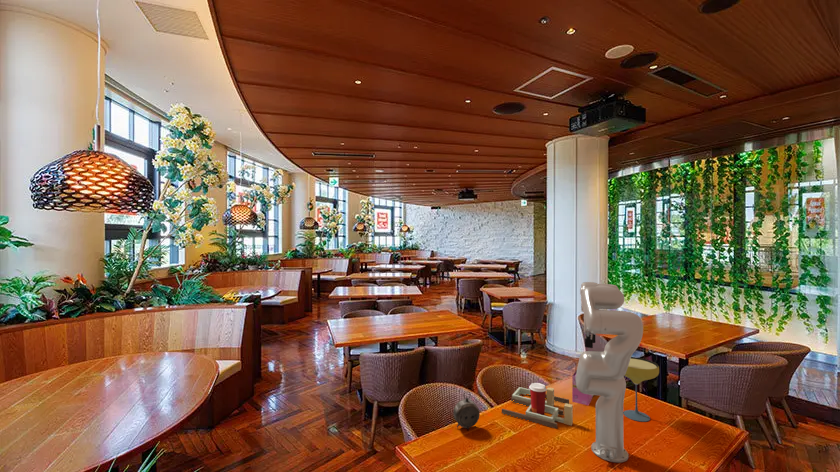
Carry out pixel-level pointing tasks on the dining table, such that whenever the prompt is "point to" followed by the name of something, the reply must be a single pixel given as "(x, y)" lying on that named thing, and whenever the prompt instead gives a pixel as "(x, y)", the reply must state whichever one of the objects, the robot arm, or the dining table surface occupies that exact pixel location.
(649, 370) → the cocktail glass
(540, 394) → the paper cup
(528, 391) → the square frame with handle
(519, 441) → the dining table surface
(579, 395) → the gum box
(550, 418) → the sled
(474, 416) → the alarm clock
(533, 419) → the lane rails
